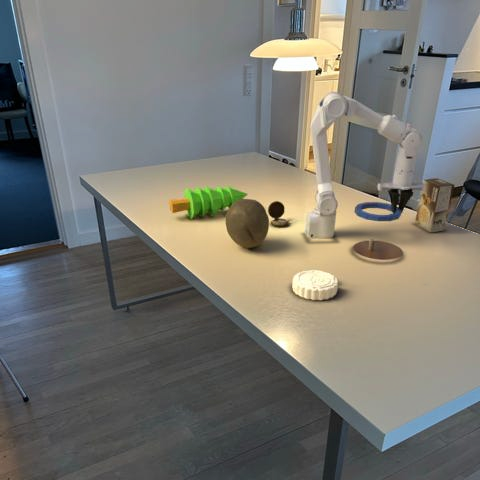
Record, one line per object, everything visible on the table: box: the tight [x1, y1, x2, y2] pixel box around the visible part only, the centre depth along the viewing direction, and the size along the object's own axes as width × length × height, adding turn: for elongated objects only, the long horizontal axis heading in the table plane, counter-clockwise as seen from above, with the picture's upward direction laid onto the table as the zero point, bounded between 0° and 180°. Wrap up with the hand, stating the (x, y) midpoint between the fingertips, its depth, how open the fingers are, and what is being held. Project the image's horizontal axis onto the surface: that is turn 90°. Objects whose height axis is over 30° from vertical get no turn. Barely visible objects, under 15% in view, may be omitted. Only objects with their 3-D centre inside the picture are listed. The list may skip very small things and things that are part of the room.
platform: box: [352, 238, 404, 261], centre depth 152 cm, size 15×15×4 cm
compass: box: [267, 200, 294, 228], centre depth 173 cm, size 8×8×7 cm
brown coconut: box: [225, 198, 270, 249], centre depth 153 cm, size 14×14×15 cm
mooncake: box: [291, 269, 339, 301], centre depth 130 cm, size 12×12×4 cm
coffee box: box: [414, 177, 455, 233], centre depth 169 cm, size 9×6×16 cm
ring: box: [354, 201, 403, 222], centre depth 157 cm, size 14×14×2 cm
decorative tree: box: [168, 185, 249, 220], centre depth 179 cm, size 11×12×30 cm
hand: (396, 212), depth 158 cm, fingers closed on ring, 1 cm apart
